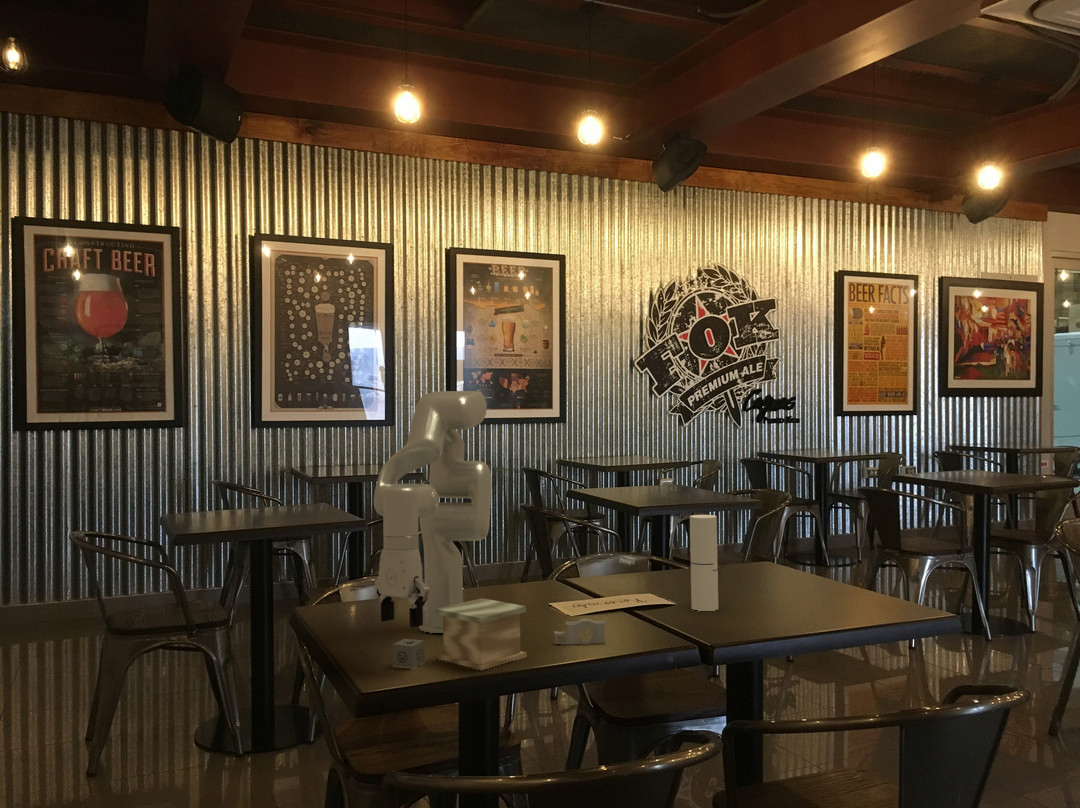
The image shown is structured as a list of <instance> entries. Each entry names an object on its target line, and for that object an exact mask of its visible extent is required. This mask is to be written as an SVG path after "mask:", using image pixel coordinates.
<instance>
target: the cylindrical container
mask: <svg viewBox="0 0 1080 808" xmlns="http://www.w3.org/2000/svg"><path fill="white" fill-rule="evenodd" d="M717 525H718V519H717V515H713V514H693V515H690V516H689V540H690V541H689V543H690V544H689V545H690V546H689V547H690V551H689V552H690V587H691V588H690V589H691V590H690V593H691V596H690V597H691V598H690V599H691V610H692V609H694V610H698V611H697V612H699V611H714V612H716V611H715V610H717V609H718V610H719V580H718V579H719V573H718V572H719V570H718V566H719V565H718V526H717ZM694 610H693V611H694ZM718 610H717V611H718Z"/></svg>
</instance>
